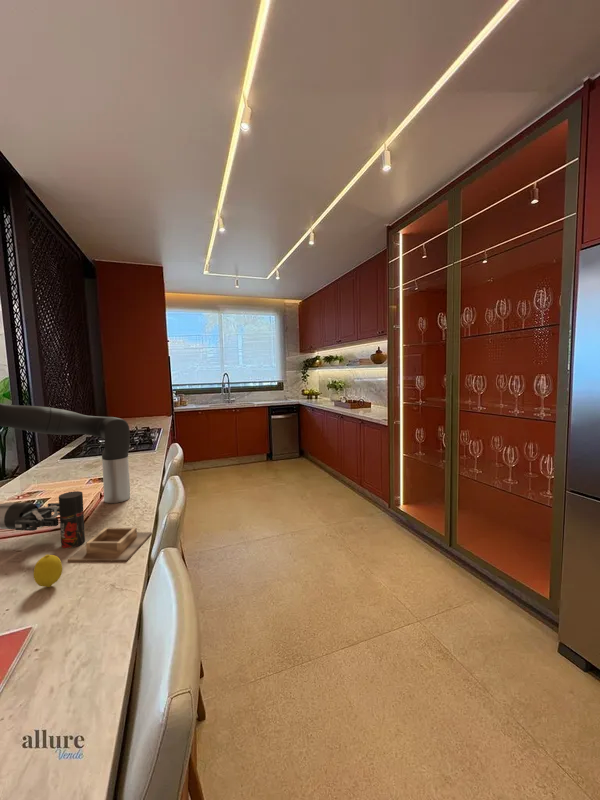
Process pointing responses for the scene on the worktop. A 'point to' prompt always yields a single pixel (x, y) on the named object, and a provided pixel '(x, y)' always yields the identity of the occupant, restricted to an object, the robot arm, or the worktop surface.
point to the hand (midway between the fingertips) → (67, 515)
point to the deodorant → (71, 519)
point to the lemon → (47, 570)
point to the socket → (111, 546)
